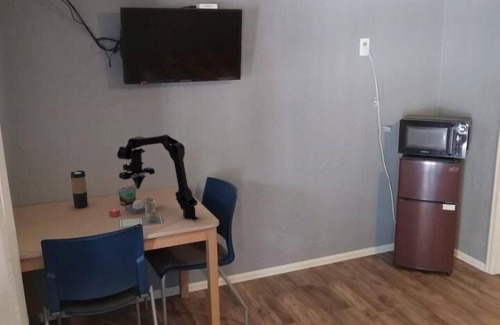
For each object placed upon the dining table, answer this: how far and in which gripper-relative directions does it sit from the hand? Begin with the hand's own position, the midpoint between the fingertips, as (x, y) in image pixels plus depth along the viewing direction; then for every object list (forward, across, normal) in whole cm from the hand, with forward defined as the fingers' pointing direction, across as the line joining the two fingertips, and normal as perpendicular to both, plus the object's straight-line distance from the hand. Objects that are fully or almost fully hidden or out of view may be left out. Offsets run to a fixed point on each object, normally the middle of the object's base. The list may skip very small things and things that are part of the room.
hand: (138, 188), depth 255 cm
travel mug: (+13, +19, -31) cm, 39 cm away
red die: (+13, +14, -1) cm, 19 cm away
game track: (+13, +9, +16) cm, 23 cm away
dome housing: (+13, 0, 0) cm, 13 cm away
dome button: (+13, 0, 0) cm, 13 cm away
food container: (+13, -3, -16) cm, 20 cm away
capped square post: (+12, +4, +19) cm, 23 cm away
